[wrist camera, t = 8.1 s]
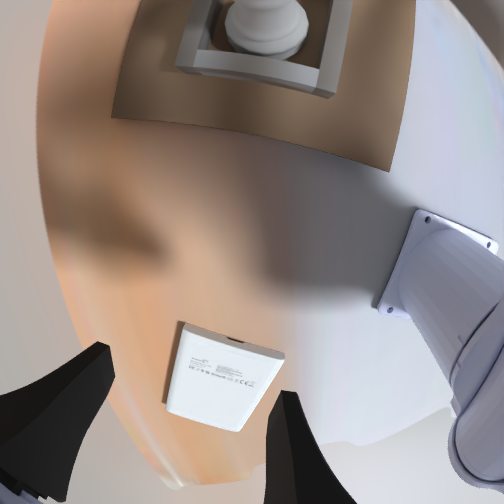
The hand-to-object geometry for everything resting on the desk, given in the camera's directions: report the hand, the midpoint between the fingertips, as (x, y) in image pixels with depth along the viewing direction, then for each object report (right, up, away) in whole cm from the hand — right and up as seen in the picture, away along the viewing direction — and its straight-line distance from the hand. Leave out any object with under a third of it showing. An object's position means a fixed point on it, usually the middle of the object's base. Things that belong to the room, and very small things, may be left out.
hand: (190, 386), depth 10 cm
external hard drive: (-1, -6, +14) cm, 15 cm away
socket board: (+4, +18, +2) cm, 19 cm away
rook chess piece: (+3, +18, +2) cm, 18 cm away
